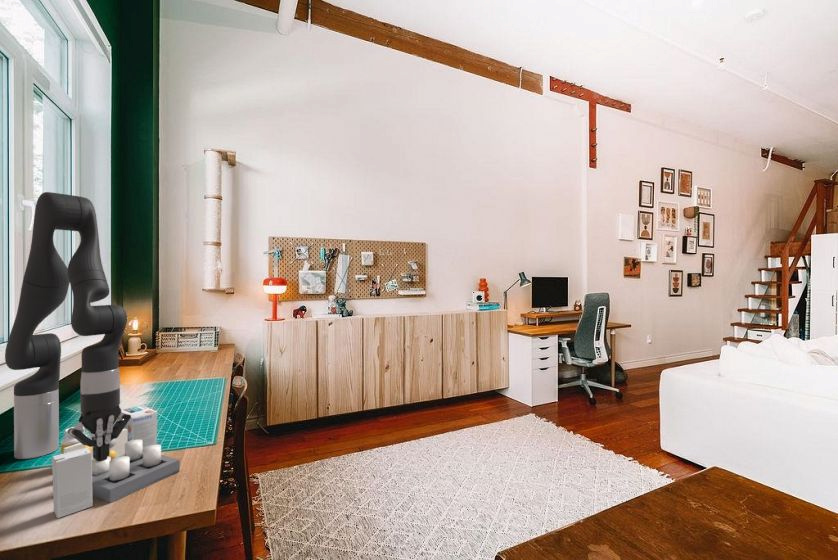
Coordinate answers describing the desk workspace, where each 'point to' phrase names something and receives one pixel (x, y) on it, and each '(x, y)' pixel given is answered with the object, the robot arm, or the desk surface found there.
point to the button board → (133, 479)
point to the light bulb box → (142, 425)
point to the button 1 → (100, 466)
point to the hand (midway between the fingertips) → (101, 459)
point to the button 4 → (151, 455)
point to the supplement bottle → (68, 440)
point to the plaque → (114, 446)
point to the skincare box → (72, 482)
